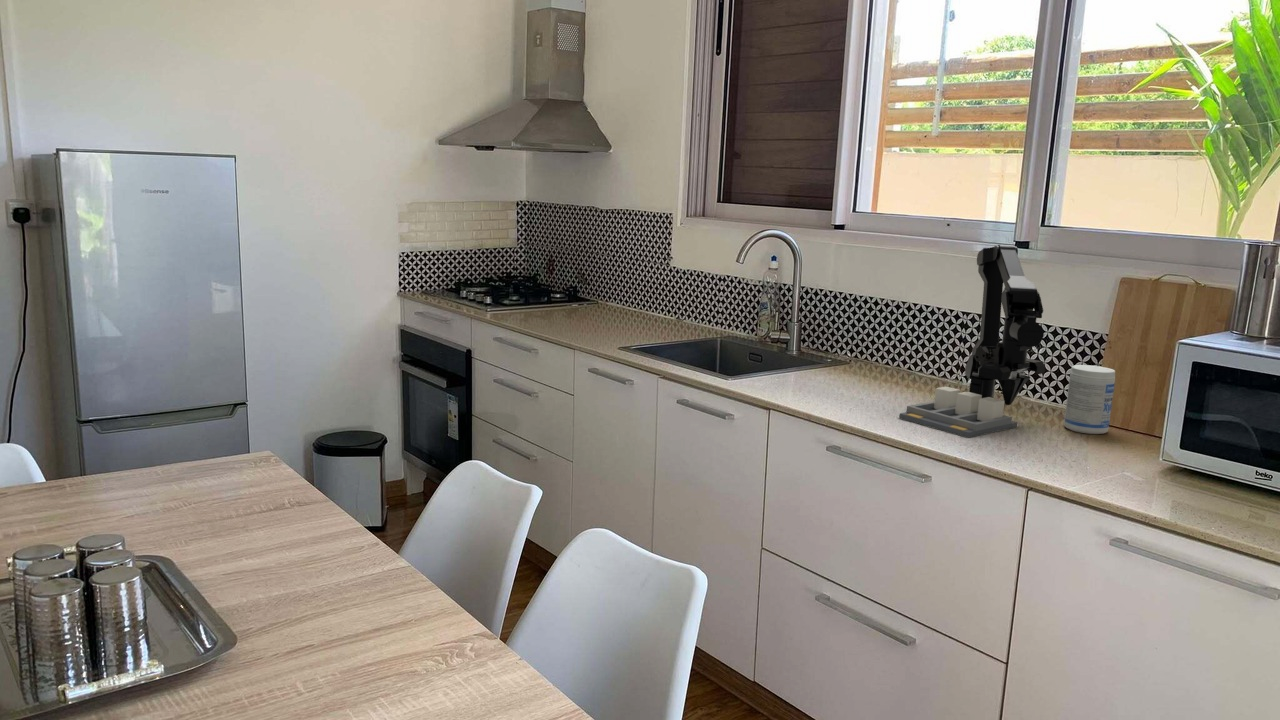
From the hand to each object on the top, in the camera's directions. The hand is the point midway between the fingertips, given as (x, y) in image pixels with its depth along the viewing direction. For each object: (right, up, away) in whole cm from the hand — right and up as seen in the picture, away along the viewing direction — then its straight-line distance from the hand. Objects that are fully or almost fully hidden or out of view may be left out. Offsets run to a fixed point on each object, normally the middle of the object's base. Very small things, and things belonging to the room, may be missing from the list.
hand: (1007, 404), depth 224 cm
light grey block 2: (-6, -4, -3) cm, 7 cm away
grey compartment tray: (-12, -4, 0) cm, 13 cm away
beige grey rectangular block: (-13, -1, +6) cm, 14 cm away
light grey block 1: (-9, -2, +1) cm, 10 cm away
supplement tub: (+17, -6, -2) cm, 18 cm away
